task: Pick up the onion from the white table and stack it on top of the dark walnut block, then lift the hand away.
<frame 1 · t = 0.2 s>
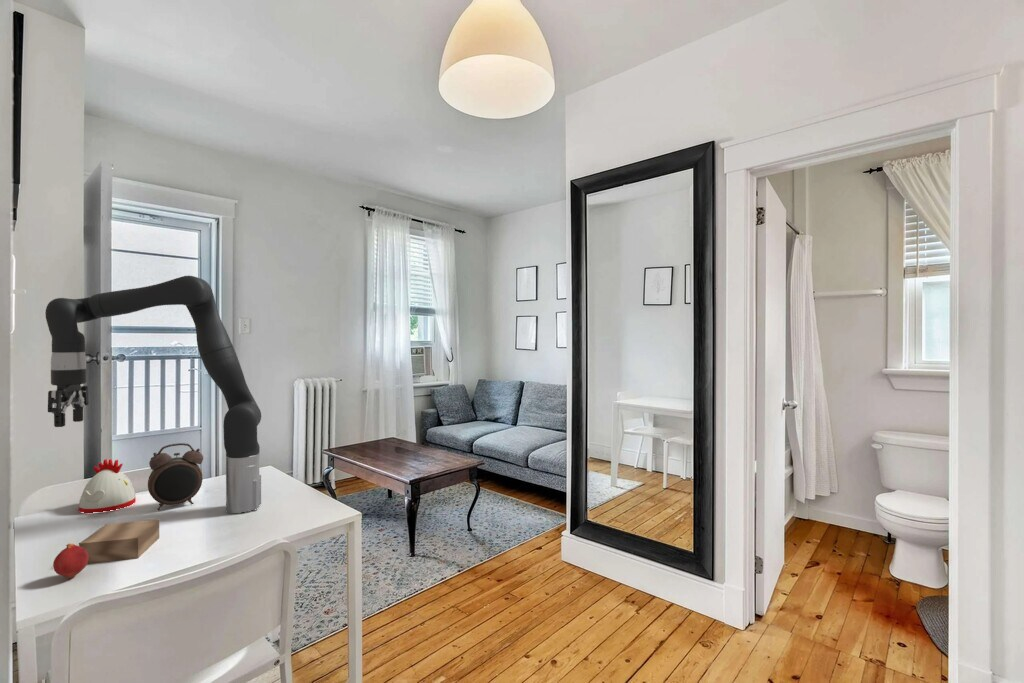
hand: (69, 424, 137), 29 cm above the table, tool pointing down, fingers open, 8 cm apart
alarm clock: (176, 506, 152), on the table
kitchen timer: (108, 506, 152), on the table
walnut base: (121, 550, 121), on the table
onion: (71, 578, 107), on the table
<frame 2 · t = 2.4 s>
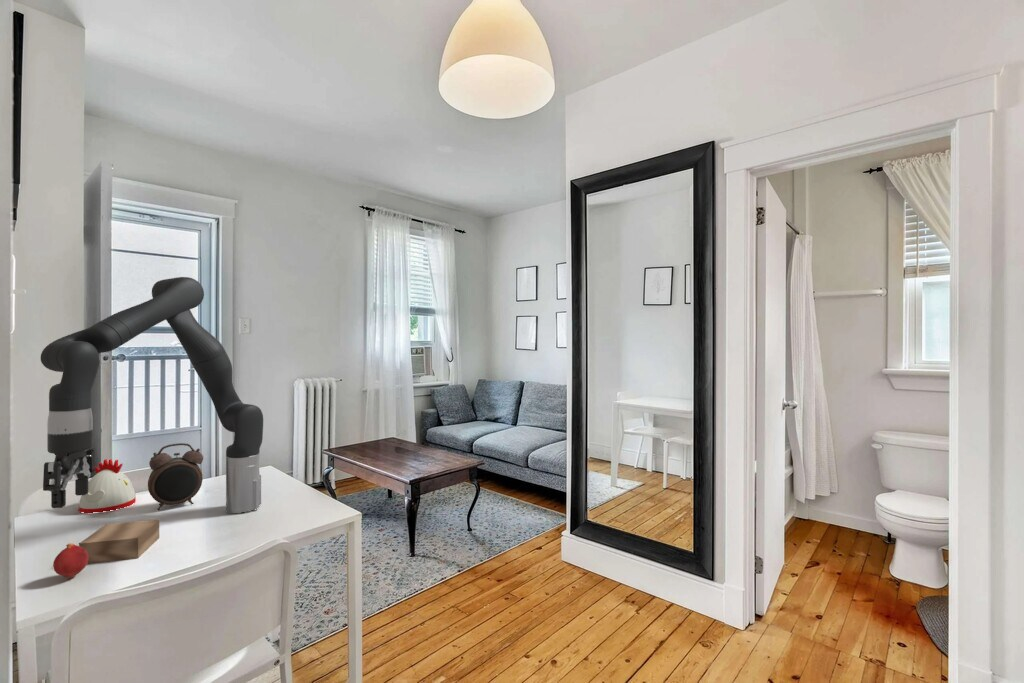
hand: (70, 500, 107), 17 cm above the table, tool pointing down, fingers open, 8 cm apart
nothing on the table moved.
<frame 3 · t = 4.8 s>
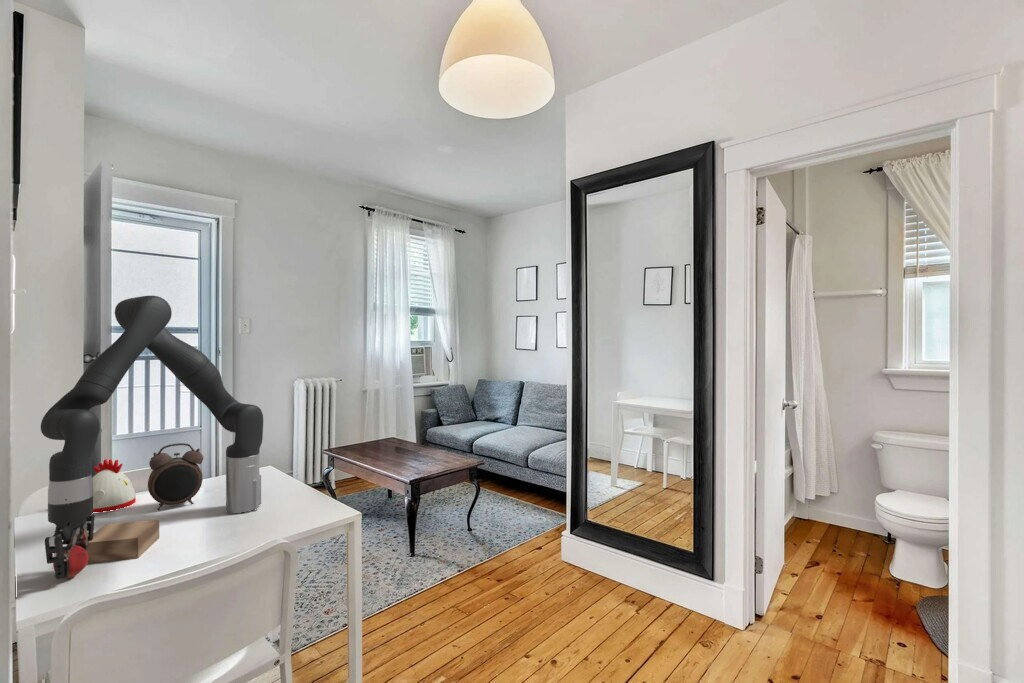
hand: (71, 570, 107), 2 cm above the table, tool pointing down, fingers closed on onion, 6 cm apart
onion: (71, 578, 107), on the table, touching gripper
everything else where it was.
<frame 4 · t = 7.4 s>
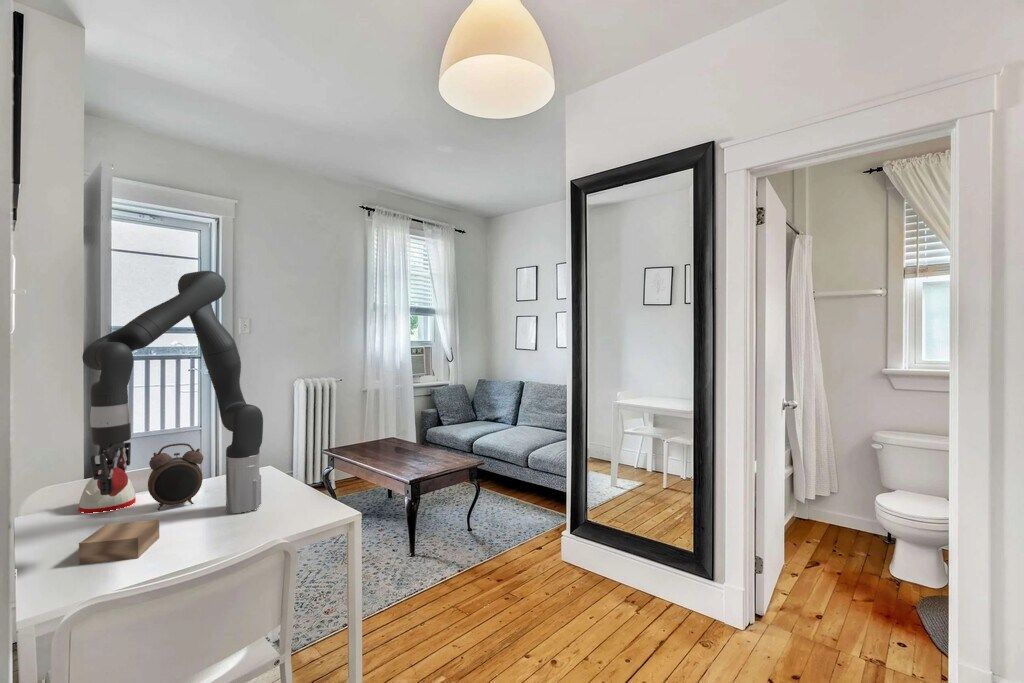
hand: (113, 489, 118), 17 cm above the table, tool pointing down, fingers closed on onion, 6 cm apart
onion: (113, 496, 118), point 15 cm above the table, touching gripper
everything else where it was.
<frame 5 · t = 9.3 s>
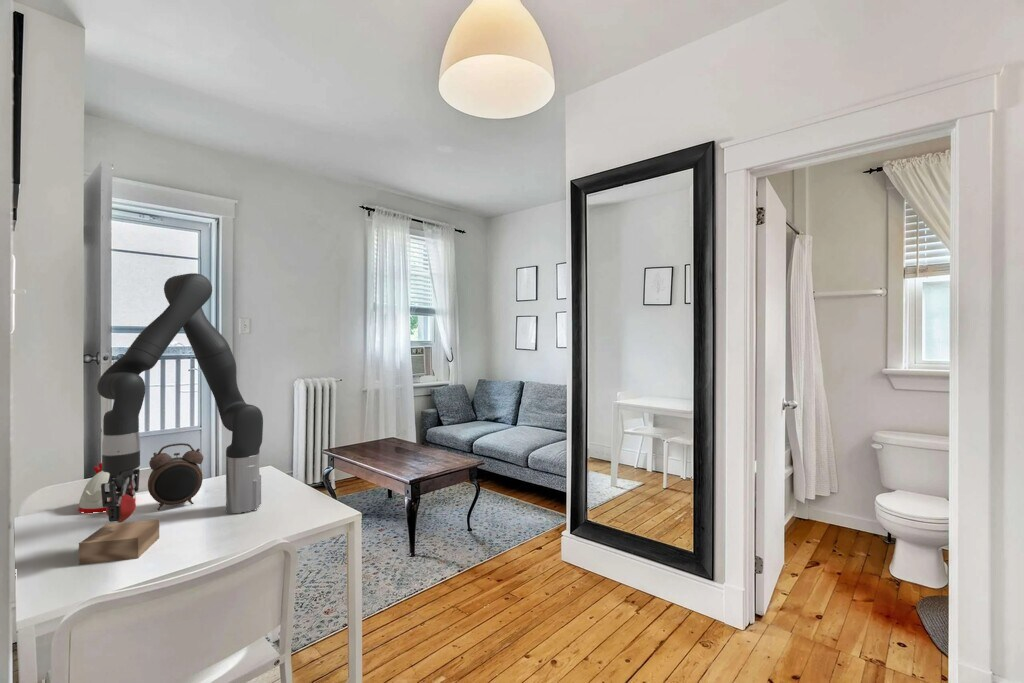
hand: (121, 515, 121), 9 cm above the table, tool pointing down, fingers closed on onion, 6 cm apart
onion: (121, 522, 121), point 7 cm above the table, touching gripper
everything else where it was.
when the fingers open (8 cm above the table, at t = 10.4 s): onion drops 1 cm, resting on walnut base.
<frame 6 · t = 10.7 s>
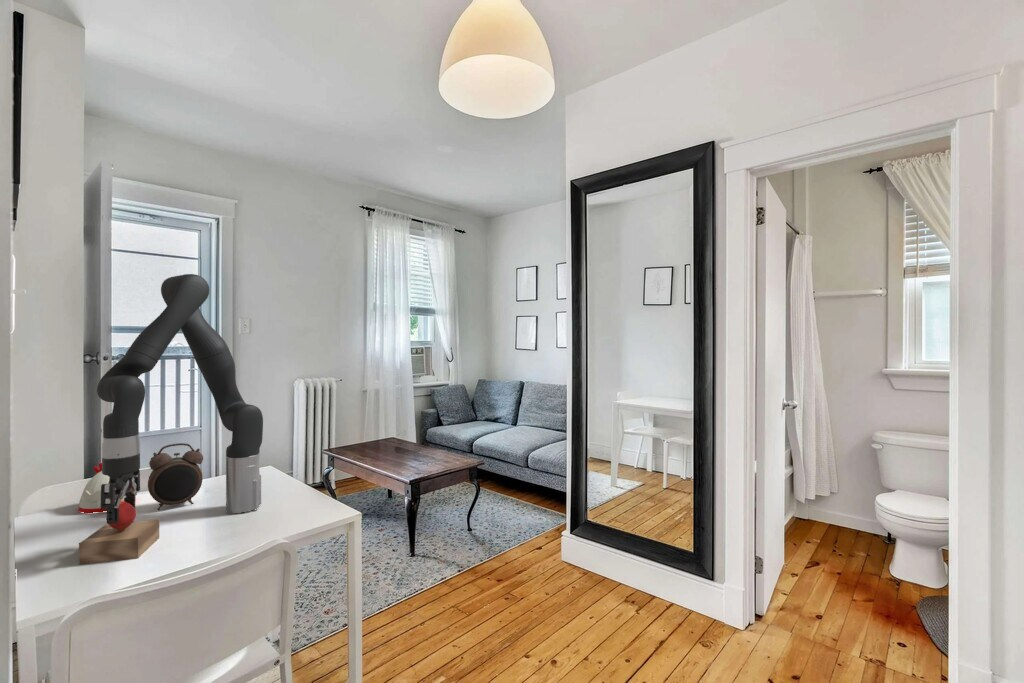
hand: (121, 516, 121), 9 cm above the table, tool pointing down, fingers open, 8 cm apart
onion: (121, 531, 121), point 5 cm above the table, touching walnut base
everything else where it was.
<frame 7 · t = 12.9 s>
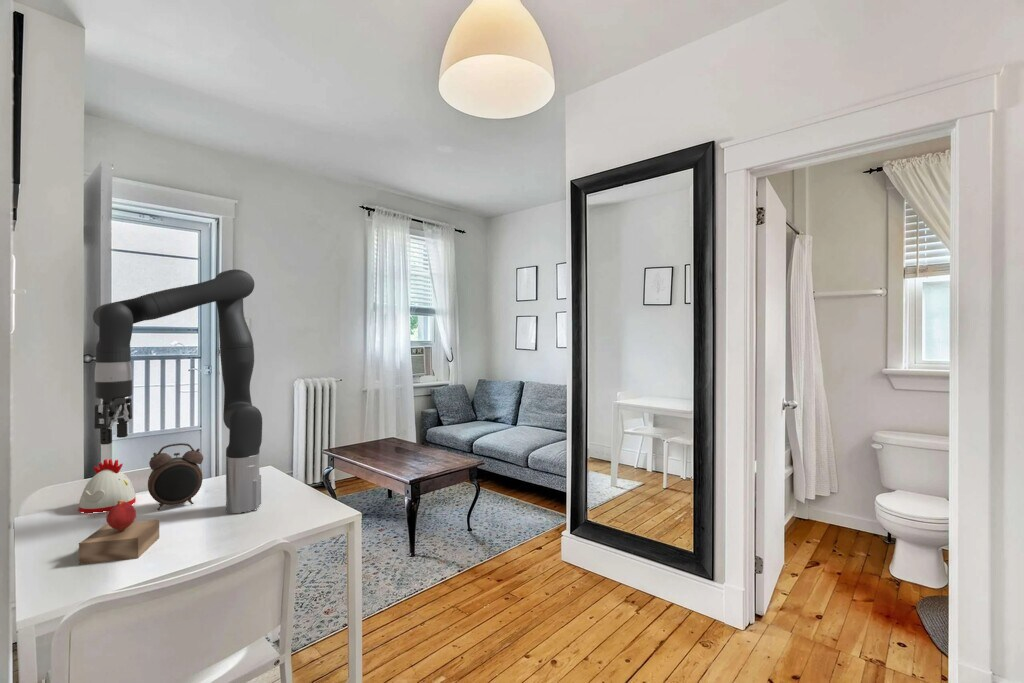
hand: (114, 440, 125), 27 cm above the table, tool pointing down, fingers open, 8 cm apart
nothing on the table moved.
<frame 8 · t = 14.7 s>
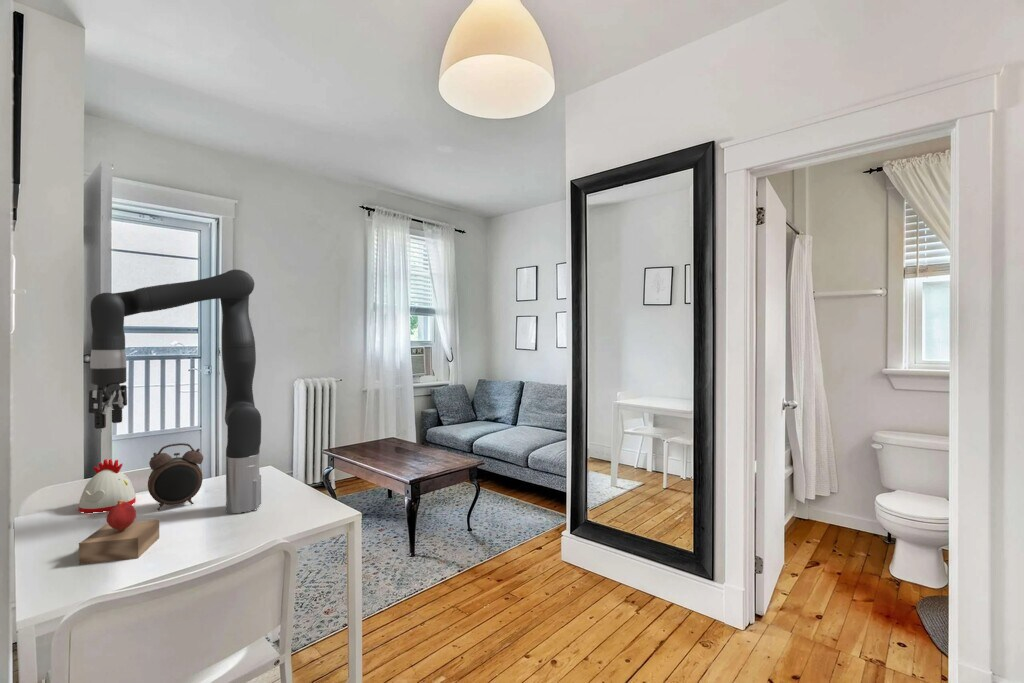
hand: (108, 425, 130), 30 cm above the table, tool pointing down, fingers open, 8 cm apart
nothing on the table moved.
at the end: onion inside the target area on the walnut base (0.0 cm from its centre), point 4.8 cm above the walnut base's base; onion touching walnut base; the gripper is holding nothing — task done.
